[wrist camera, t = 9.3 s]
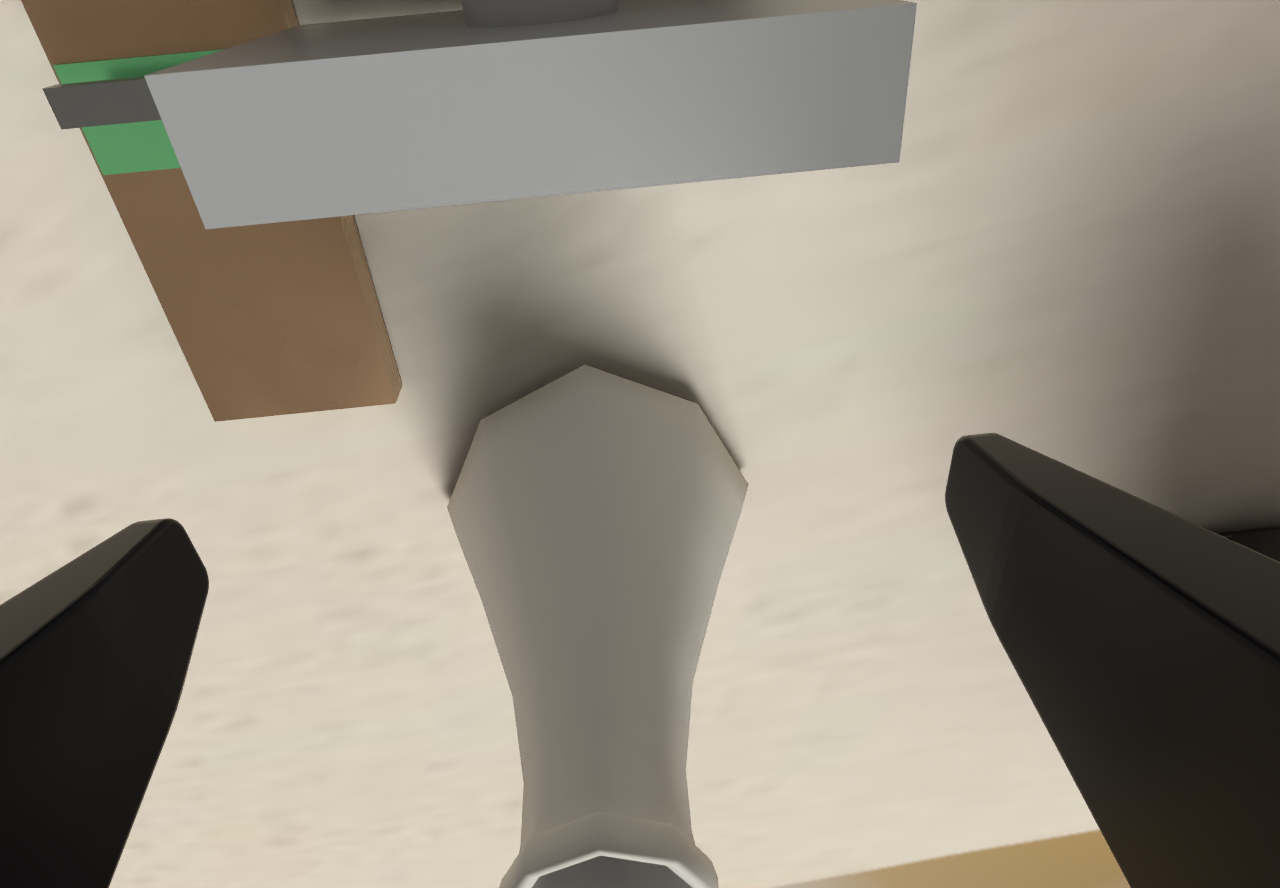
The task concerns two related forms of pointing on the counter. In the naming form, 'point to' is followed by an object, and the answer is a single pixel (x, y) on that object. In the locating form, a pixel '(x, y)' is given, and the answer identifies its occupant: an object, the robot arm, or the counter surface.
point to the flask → (600, 616)
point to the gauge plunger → (520, 103)
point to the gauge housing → (232, 256)
